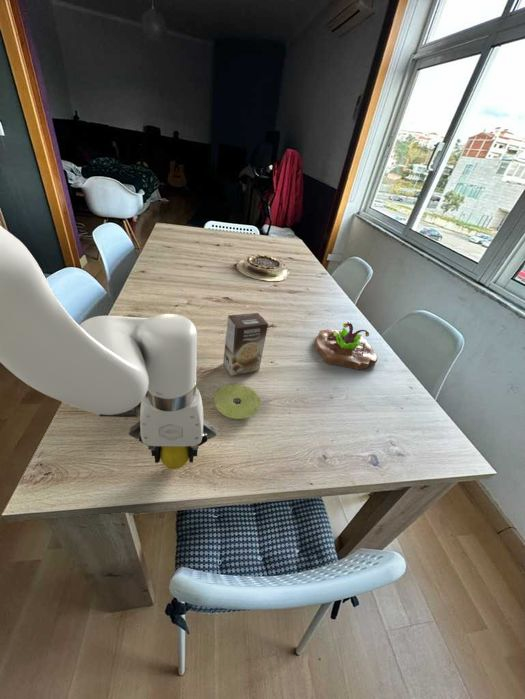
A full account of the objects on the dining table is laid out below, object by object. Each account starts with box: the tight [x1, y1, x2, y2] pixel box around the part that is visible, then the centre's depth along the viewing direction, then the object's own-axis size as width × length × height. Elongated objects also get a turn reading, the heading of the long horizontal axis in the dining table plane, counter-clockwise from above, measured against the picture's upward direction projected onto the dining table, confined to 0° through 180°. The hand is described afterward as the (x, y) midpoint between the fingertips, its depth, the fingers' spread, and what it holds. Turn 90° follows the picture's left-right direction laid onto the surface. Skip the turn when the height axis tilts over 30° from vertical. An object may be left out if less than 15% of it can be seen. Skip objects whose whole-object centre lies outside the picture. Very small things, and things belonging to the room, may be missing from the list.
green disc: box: [213, 384, 261, 420], centre depth 72 cm, size 11×11×2 cm
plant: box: [314, 321, 378, 371], centre depth 96 cm, size 20×20×11 cm
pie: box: [236, 253, 292, 282], centre depth 147 cm, size 28×27×5 cm
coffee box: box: [222, 312, 269, 377], centre depth 80 cm, size 9×6×16 cm
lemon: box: [160, 446, 190, 470], centre depth 56 cm, size 6×6×8 cm
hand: (175, 455), depth 57 cm, fingers closed on lemon, 5 cm apart
